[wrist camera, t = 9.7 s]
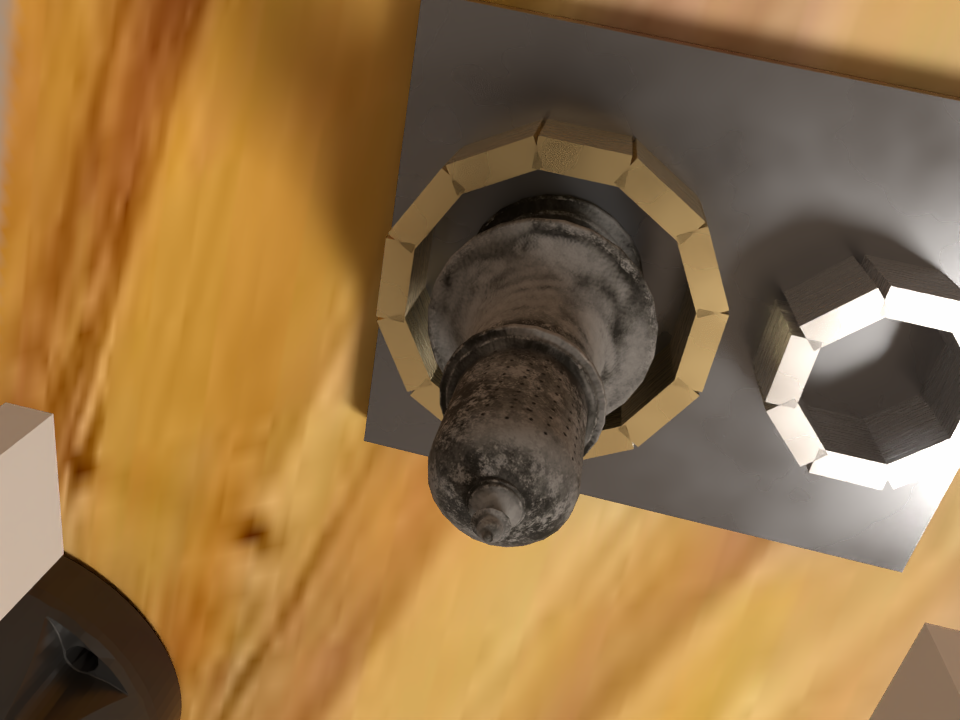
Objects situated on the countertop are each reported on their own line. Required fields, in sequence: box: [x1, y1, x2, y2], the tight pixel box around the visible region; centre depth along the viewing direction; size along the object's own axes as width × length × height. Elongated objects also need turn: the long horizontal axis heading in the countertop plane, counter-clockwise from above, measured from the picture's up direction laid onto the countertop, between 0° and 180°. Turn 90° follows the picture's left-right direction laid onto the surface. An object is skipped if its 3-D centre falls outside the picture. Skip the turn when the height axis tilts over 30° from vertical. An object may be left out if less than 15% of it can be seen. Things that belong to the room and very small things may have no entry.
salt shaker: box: [428, 194, 658, 547], centre depth 18 cm, size 6×6×12 cm
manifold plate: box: [364, 0, 960, 572], centre depth 23 cm, size 18×14×4 cm
